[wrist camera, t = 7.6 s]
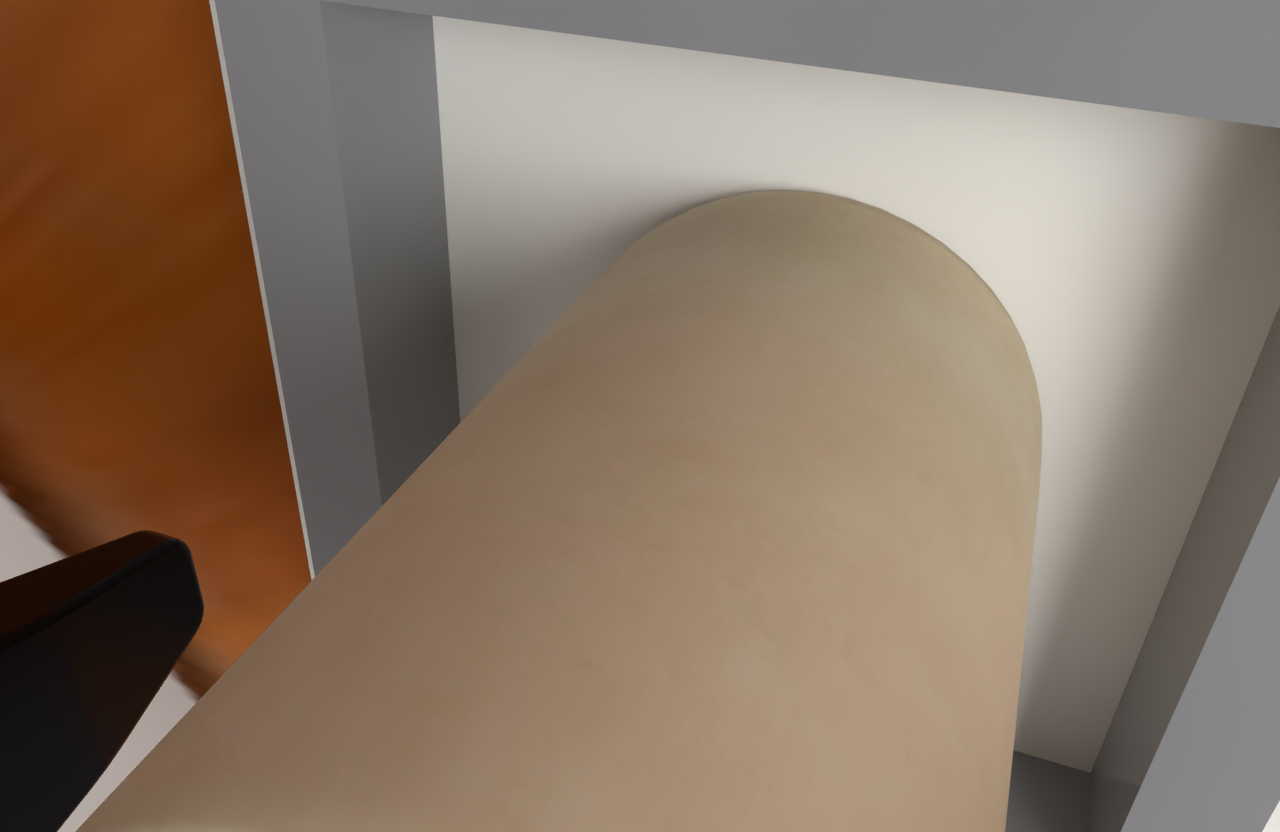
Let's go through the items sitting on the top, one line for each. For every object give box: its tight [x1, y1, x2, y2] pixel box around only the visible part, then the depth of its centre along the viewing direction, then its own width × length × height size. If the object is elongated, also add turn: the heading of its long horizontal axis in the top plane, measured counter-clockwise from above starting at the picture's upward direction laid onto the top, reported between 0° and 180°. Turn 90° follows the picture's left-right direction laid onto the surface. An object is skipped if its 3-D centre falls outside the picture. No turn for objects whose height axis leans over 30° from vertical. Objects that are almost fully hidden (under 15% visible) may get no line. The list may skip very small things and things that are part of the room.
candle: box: [76, 190, 1042, 832], centre depth 9 cm, size 6×6×10 cm
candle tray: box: [209, 0, 1280, 832], centre depth 12 cm, size 15×15×3 cm
